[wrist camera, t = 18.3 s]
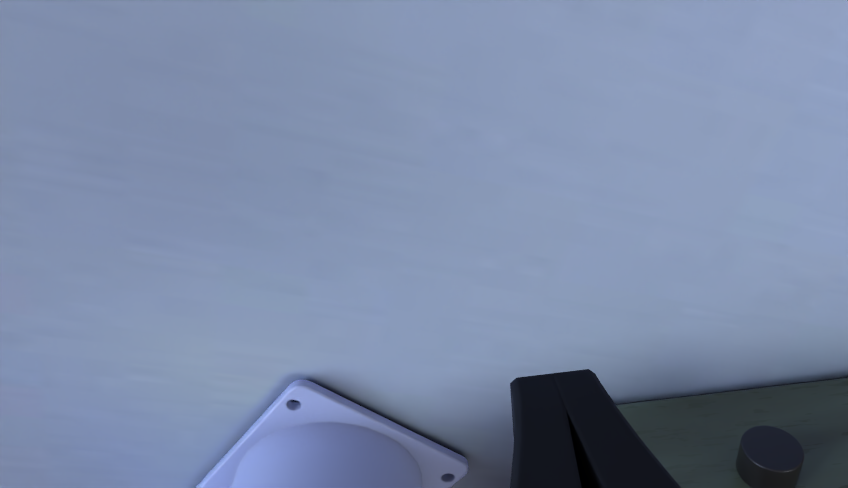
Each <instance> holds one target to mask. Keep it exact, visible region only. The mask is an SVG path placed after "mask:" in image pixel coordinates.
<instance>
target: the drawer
mask: <svg viewBox="0 0 848 488" xmlns="http://www.w3.org/2000/svg"><path fill="white" fill-rule="evenodd" d="M616 406H617V408H618V409H619V410H620V412H621V413H622V415H623V416H624V417H625V419H626V420H627V421H628V423H629V424H630V425H631V427H632V428H633V429H634V431H635V432H636V433H637V435H638V436H639V437H640V438H641V440H642V441H643V442H644V443H645V445H646V446H647V447H648V449H649V450H650V451H651V452H652V453H653V455H654V456H655V457H656V458H657V459H658V461H659V462H660V463H661V464H662V465H663V467H664V468H665V469H666V470H667V471H668V473H669V474H670V475H671V476H672V477H673V479H674V480H675V481H676V482H677V483H678V484H679V486H680V487H681V488H848V378H841V379H833V380H824V381H816V382H807V383H798V384H790V385H781V386H773V387H764V388H756V389H747V390H739V391H730V392H722V393H713V394H705V395H696V396H688V397H679V398H670V399H662V400H653V401H645V402H636V403H628V404H619V405H616Z"/></svg>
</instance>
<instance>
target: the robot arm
mask: <svg viewBox="0 0 848 488" xmlns="http://www.w3.org/2000/svg"><path fill="white" fill-rule="evenodd" d="M510 388H511V402H512V417H513V432H514V452H513V463H512V473H511V483H510V488H681V487H680V486H679V484H678V483H677V482H676V481H675V480H674V479H673V477H672V476H671V475H670V474H669V473H668V471H667V470H666V469H665V468H664V467H663V465H662V464H661V463H660V462H659V461H658V459H657V458H656V457H655V456H654V455H653V453H652V452H651V451H650V450H649V449H648V447H647V446H646V445H645V443H644V442H643V441H642V440H641V438H640V437H639V436H638V435H637V433H636V432H635V431H634V429H633V428H632V427H631V425H630V424H629V423H628V421H627V420H626V419H625V417H624V416H623V415H622V413H621V412H620V410H619V409H618V408H617V406H616V405H615V403H614V402H613V400H612V399H611V398H610V396H609V395H608V393H607V392H606V390H605V389H604V387H603V386H602V384H601V383H600V381H599V379H598V378H597V376H596V374H595V373H593V372H592V371H590V370H589V369H587V370H579V371H570V372H562V373H553V374H545V375H536V376H528V377H520V378H516V379H515V380H514V381H513V382H511V383H510ZM290 400H297V401H299V402H293V401H290ZM468 470H469V467H468V461H467V459H466V458H465V457H463V456H461V455H459V454H457V453H455V452H453V451H451V450H449V449H447V448H445V447H443V446H441V445H439V444H437V443H435V442H433V441H431V440H429V439H427V438H425V437H422V436H420V435H418V434H416V433H414V432H412V431H410V430H408V429H406V428H404V427H402V426H400V425H398V424H396V423H394V422H392V421H390V420H388V419H386V418H384V417H382V416H380V415H378V414H376V413H374V412H372V411H370V410H368V409H366V408H364V407H362V406H360V405H358V404H355V403H353V402H351V401H349V400H347V399H345V398H343V397H341V396H339V395H337V394H335V393H333V392H331V391H329V390H327V389H325V388H323V387H321V386H319V385H317V384H315V383H313V382H311V381H308V380H296V381H294V382H292V383H291V384H290V385H289V386H288V387H287V388H286V389H285V390H284V391H283V392H282V393H281V395H280V396H279V397H278V398H277V399H276V400H275V401H274V402H273V403H272V404H271V405H270V407H269V408H268V409H267V410H266V411H265V412H264V413H263V414H262V415H261V416H260V417H259V419H258V420H257V421H256V422H255V423H254V424H253V425H252V426H251V427H250V428H249V429H248V431H247V432H246V433H245V434H244V435H243V436H242V437H241V438H240V439H239V440H238V441H237V443H236V444H235V445H234V446H233V447H232V448H231V449H230V450H229V451H228V452H227V453H226V455H225V456H224V457H223V458H222V459H221V460H220V461H219V462H218V463H217V464H216V465H215V467H214V468H213V469H212V470H211V471H210V472H209V473H208V474H207V475H206V476H205V478H204V479H203V480H202V481H201V482H200V483H199V484H198V485H197V486H196V487H195V488H450V487H451V486H453V485H454V484H455V483H456V482H457V481H459V480H460V479H461V478H462V477H464V476H465V475H466V474H467V473H468Z"/></svg>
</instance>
